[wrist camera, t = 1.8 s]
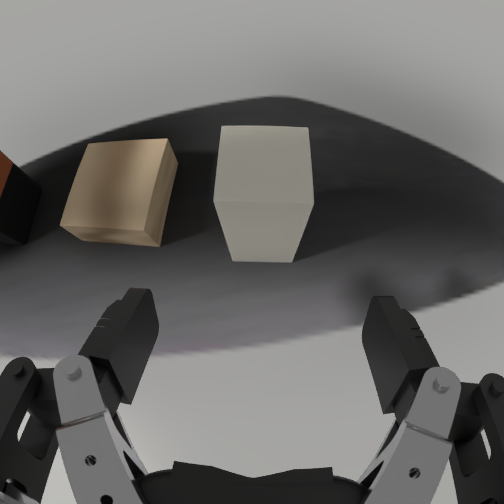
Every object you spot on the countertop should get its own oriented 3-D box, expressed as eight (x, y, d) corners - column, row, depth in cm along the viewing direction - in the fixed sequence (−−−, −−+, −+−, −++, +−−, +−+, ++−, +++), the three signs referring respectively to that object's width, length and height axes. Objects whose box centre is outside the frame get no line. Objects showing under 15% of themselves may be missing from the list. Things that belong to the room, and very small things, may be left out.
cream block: (232, 261, 23) (213, 201, 13) (235, 207, 24) (221, 126, 14) (292, 262, 23) (314, 203, 13) (291, 208, 24) (307, 127, 14)
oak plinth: (83, 241, 24) (59, 225, 20) (105, 166, 26) (88, 143, 22) (160, 247, 23) (143, 230, 20) (178, 165, 26) (167, 138, 22)
